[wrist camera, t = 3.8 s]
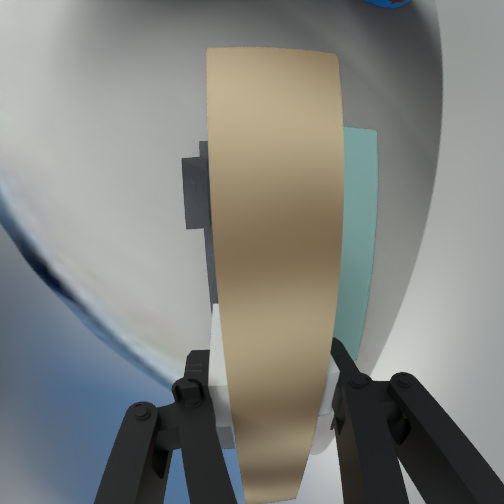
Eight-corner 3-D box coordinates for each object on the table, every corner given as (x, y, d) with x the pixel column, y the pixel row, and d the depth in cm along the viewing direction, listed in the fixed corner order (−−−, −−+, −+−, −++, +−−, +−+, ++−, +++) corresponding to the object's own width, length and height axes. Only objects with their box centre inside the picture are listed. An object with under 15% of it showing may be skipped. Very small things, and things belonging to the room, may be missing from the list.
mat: (306, 125, 23) (308, 124, 22) (373, 131, 23) (376, 130, 23) (301, 365, 30) (302, 369, 30) (354, 357, 31) (356, 359, 30)
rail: (212, 88, 9) (206, 48, 6) (300, 88, 10) (337, 54, 6) (242, 463, 17) (246, 504, 13) (286, 459, 17) (295, 499, 13)
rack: (200, 142, 22) (172, 113, 10) (280, 140, 23) (336, 112, 11) (218, 363, 29) (219, 460, 17) (280, 359, 30) (307, 451, 17)
